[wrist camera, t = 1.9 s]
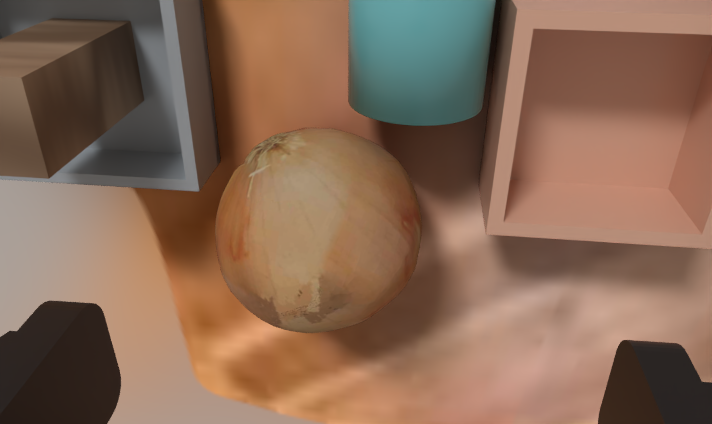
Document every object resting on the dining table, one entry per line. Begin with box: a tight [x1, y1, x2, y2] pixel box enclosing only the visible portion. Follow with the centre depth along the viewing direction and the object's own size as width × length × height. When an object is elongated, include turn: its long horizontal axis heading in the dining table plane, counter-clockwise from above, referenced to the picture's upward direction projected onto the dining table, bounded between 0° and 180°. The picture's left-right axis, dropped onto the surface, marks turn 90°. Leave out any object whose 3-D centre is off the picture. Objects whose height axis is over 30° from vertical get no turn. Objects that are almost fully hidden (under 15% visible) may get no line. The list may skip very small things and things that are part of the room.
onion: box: [215, 128, 422, 333], centre depth 29 cm, size 10×10×10 cm
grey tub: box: [0, 0, 220, 191], centre depth 29 cm, size 11×11×4 cm
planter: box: [479, 0, 712, 249], centre depth 27 cm, size 10×10×5 cm
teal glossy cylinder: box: [348, 0, 496, 126], centre depth 25 cm, size 7×6×6 cm
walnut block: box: [0, 18, 144, 179], centre depth 26 cm, size 4×4×9 cm
